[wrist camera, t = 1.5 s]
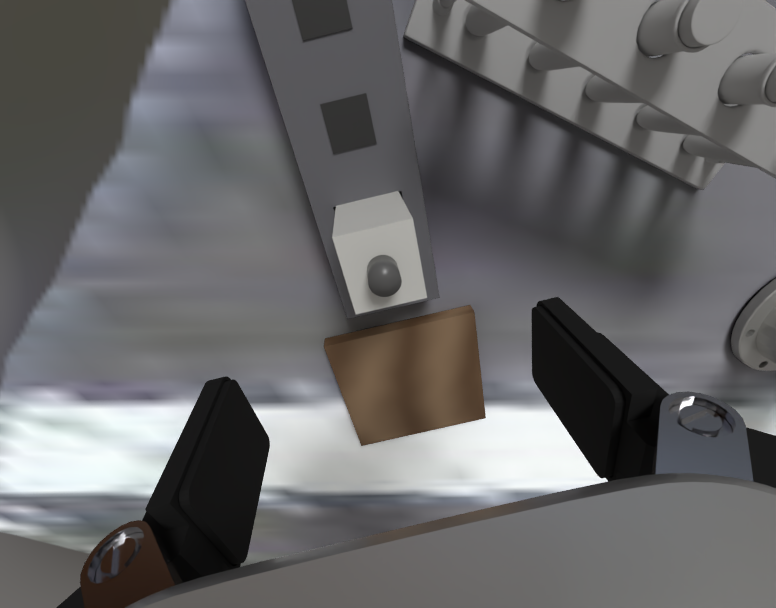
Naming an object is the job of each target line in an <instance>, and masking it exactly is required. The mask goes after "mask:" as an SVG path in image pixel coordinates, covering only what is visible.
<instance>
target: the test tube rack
mask: <svg viewBox="0 0 776 608" xmlns="http://www.w3.org/2000/svg"><path fill="white" fill-rule="evenodd" d="M656 1H657V0H565V1H562V0H415V3H414V6H413V9H412V12H411V15H410V17H409V20H408V23H407V26H406V29H405V32H404V35H403V37H404V38H406V39H408V40H410V41H412V42H414V43H416V44H418V45H420V46H422V47H423V48H425V49H427V50H429V51H431V52H433V53H435V54H437V55H439V56H441V57H443V58H445V59H447V60H449V61H451V62H453V63H455V64H457V65H459V66H460V67H462V68H464V69H466V70H468V71H470V72H472V73H474V74H476V75H478V76H480V77H482V78H484V79H486V80H488V81H489V82H491V83H493V84H495V85H497V86H499V87H501V88H503V89H505V90H507V91H509V92H511V93H513V94H515V95H517V96H519V97H520V98H522V99H524V100H526V101H528V102H530V103H532V104H534V105H536V106H538V107H540V108H542V109H544V110H546V111H548V112H549V113H551V114H553V115H555V116H557V117H559V118H561V119H563V120H565V121H567V122H569V123H571V124H573V125H575V126H577V127H578V128H580V129H582V130H584V131H586V132H588V133H590V134H592V135H594V136H596V137H598V138H600V139H602V140H604V141H606V142H608V143H609V144H611V145H613V146H615V147H617V148H619V149H621V150H623V151H625V152H627V153H629V154H631V155H633V156H635V157H637V158H638V159H640V160H642V161H644V162H646V163H648V164H650V165H652V166H654V167H656V168H658V169H660V170H662V171H664V172H666V173H667V174H669V175H671V176H673V177H675V178H677V179H679V180H681V181H683V182H685V183H687V184H689V185H691V186H693V187H695V188H697V189H701V190H704V189H705V188H706V187H707V185H708V184H709V183H710V182H711V180H712V179H713V178H714V176H715V175H716V174H717V172H718V171H719V170H720V169H721V167H722V166H723V165H724V163H731V164H737V165H743V166H749V167H755V168H758V169H760V170H761V171H763V172H765V173H767V174H768V175H770V176H772V177H774V178H775V179H776V8H774V7H773V6H772V5H770V4H769V3H768V2H766V1H765V0H660V1H657V2H656ZM746 53H752V54H755V55H747V56H741V55H743V54H746ZM663 54H664V55H663ZM657 55H662V56H661V57H657V58H650V56H657Z"/></svg>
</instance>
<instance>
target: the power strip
mask: <svg viewBox="0 0 776 608" xmlns="http://www.w3.org/2000/svg"><path fill="white" fill-rule="evenodd" d="M245 2H246V5H247V8H248V11H249V14H250V17H251V21H252V24H253V27H254V30H255V33H256V36H257V39H258V42H259V45H260V49H261V52H262V55H263V58H264V61H265V64H266V67H267V70H268V73H269V77H270V80H271V83H272V86H273V89H274V92H275V95H276V98H277V101H278V105H279V108H280V111H281V114H282V117H283V120H284V123H285V126H286V130H287V133H288V136H289V139H290V142H291V145H292V148H293V151H294V154H295V158H296V161H297V164H298V167H299V170H300V173H301V176H302V179H303V182H304V186H305V189H306V192H307V195H308V198H309V201H310V204H311V207H312V210H313V214H314V217H315V220H316V223H317V226H318V229H319V232H320V235H321V238H322V242H323V245H324V248H325V251H326V254H327V257H328V260H329V263H330V266H331V270H332V273H333V276H334V279H335V282H336V285H337V288H338V291H339V294H340V298H341V301H342V304H343V307H344V310H345V313H346V316H347V319H350V318H355V317H359V316H363V315H368V314H372V313H376V312H380V311H385V310H389V309H393V308H398V307H402V306H406V305H411V304H415V303H419V302H423V301H428V300H432V299H436V298H440V297H439V291H438V284H437V278H436V272H435V266H434V259H433V253H432V247H431V241H430V234H429V228H428V222H427V216H426V210H425V203H424V197H423V191H422V185H421V178H420V172H419V166H418V160H417V154H416V147H415V141H414V135H413V129H412V122H411V116H410V110H409V104H408V97H407V91H406V85H405V79H404V73H403V66H402V60H401V54H400V48H399V41H398V35H397V29H396V23H395V16H394V10H393V4H392V0H245ZM396 191H398V192H399V193H400V195H401V197H402V199H403V201H404V203H405V205H406V206H407V208H408V210H409V212H410V214H411V216H412V218H413V222H414V227H415V233H416V238H417V244H418V249H419V255H420V260H421V266H422V271H423V277H424V282H425V288H426V293H427V298H425V299H420V300H416V301H412V302H407V303H403V304H399V305H395V306H390V307H386V308H382V309H377V310H373V311H369V312H364V313H360V314H355V311H354V307H353V304H352V301H351V298H350V294H349V291H348V288H347V284H346V281H345V278H344V275H343V271H342V268H341V265H340V261H339V258H338V255H337V252H336V248H335V245H334V242H333V239H332V235H333V227H334V218H335V210H336V206H337V205H342V204H346V203H350V202H354V201H358V200H362V199H366V198H371V197H375V196H379V195H383V194H387V193H391V192H396Z"/></svg>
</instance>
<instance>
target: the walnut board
mask: <svg viewBox="0 0 776 608" xmlns="http://www.w3.org/2000/svg"><path fill="white" fill-rule="evenodd" d="M324 348H325V351H326V353H327V356H328V359H329V361H330V364H331V366H332V369H333V372H334V374H335V377H336V380H337V382H338V385H339V388H340V390H341V393H342V396H343V398H344V401H345V403H346V406H347V409H348V411H349V414H350V417H351V419H352V422H353V425H354V427H355V430H356V433H357V435H358V438H359V440H360V443H361V446H363V445H368V444H372V443H376V442H381V441H385V440H390V439H394V438H399V437H403V436H408V435H412V434H417V433H421V432H426V431H430V430H434V429H439V428H443V427H448V426H452V425H457V424H461V423H466V422H470V421H475V420H479V419H484V418H486V417H485V407H484V398H483V389H482V379H481V370H480V360H479V351H478V342H477V332H476V323H475V314H474V311H473V309H472V307H471V306H470V305H468V306H464V307H459V308H455V309H451V310H446V311H442V312H438V313H433V314H429V315H425V316H420V317H416V318H412V319H407V320H403V321H399V322H395V323H390V324H386V325H382V326H377V327H373V328H369V329H364V330H360V331H356V332H351V333H347V334H343V335H338V336H334V337H330V338H325V342H324Z"/></svg>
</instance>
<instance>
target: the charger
mask: <svg viewBox="0 0 776 608" xmlns="http://www.w3.org/2000/svg"><path fill="white" fill-rule="evenodd" d="M332 239H333V242H334V245H335V248H336V252H337V255H338V258H339V261H340V265H341V268H342V271H343V275H344V278H345V281H346V284H347V288H348V291H349V294H350V298H351V301H352V304H353V307H354V311H355V314H360V313H364V312H369V311H373V310H377V309H382V308H386V307H390V306H395V305H399V304H403V303H407V302H412V301H416V300H420V299H425V298H427V293H426V288H425V282H424V277H423V271H422V266H421V260H420V255H419V249H418V244H417V238H416V233H415V227H414V222H413V218H412V216H411V214H410V212H409V210H408V208H407V206H406V205H405V203H404V201H403V199H402V197H401V195H400V193H399V192H398V191H396V192H391V193H387V194H383V195H379V196H375V197H371V198H366V199H362V200H358V201H354V202H350V203H346V204H342V205H337V206H336V210H335V218H334V227H333V235H332Z"/></svg>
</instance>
